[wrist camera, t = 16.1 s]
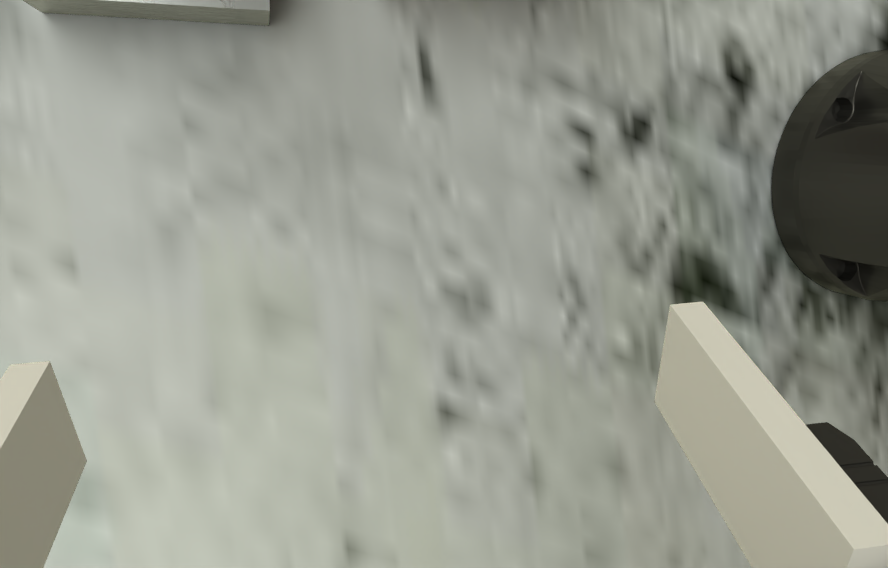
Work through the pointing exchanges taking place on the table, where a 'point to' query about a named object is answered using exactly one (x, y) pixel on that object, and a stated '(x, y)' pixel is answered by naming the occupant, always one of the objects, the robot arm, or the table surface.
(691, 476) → the table surface
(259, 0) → the lower socket
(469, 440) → the table surface
